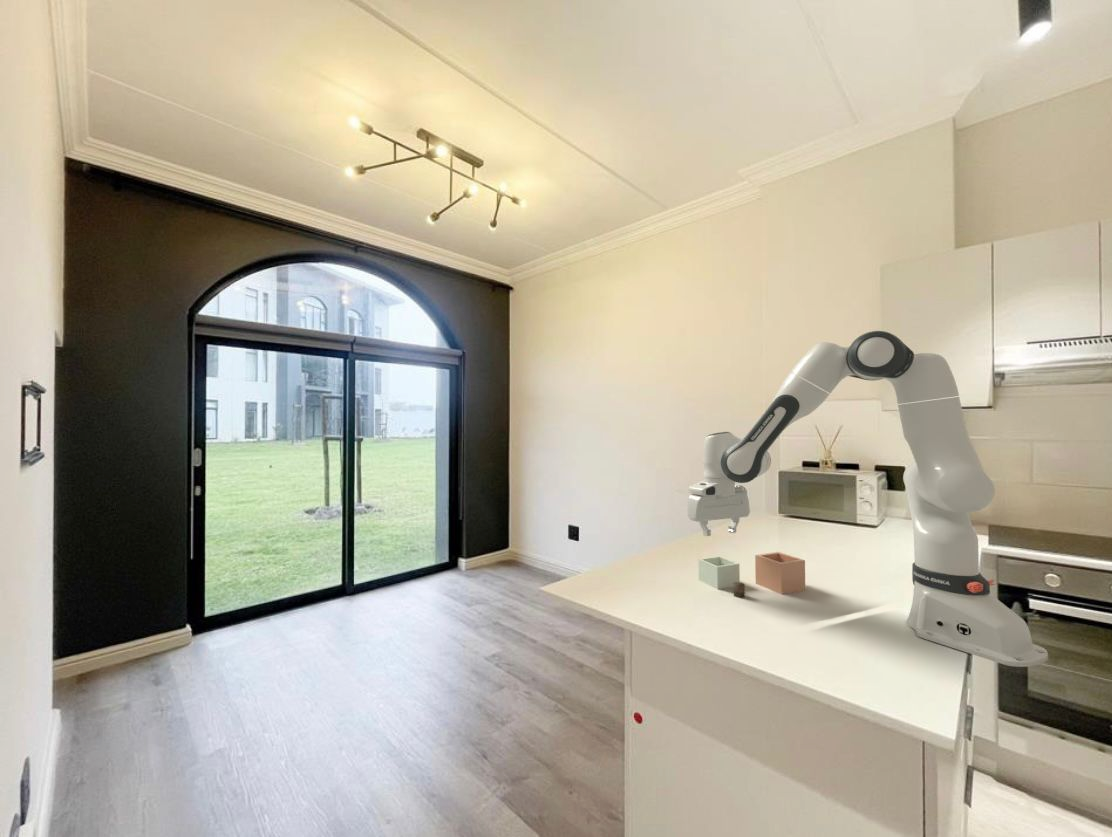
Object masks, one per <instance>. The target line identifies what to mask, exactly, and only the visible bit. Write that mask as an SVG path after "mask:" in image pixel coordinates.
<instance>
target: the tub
mask: <svg viewBox="0 0 1112 837" xmlns="http://www.w3.org/2000/svg"><path fill="white" fill-rule="evenodd" d="M740 574H741V572H740V563H739V562H736V561H733V560H731V559H728V558H726V557H723V556H720V555H718V556H712V557H705V558H699V559H698V581H700V582H702V583H704V584H706V585H708V586H710V587H711V588H713V589H716V590H722V589H727V588H732V587H733V588H734V586H733V583H735V582H740V583H741V581H740V580H741V578H740V576H741V575H740Z"/></svg>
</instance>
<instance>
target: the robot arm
mask: <svg viewBox="0 0 1112 837" xmlns="http://www.w3.org/2000/svg"><path fill="white" fill-rule="evenodd" d="M811 347H812V348H810V349H809V350H808V351H807V352H806V353H805V354H804V355H803V356H802V357H801V358H800V359H799V361H797V362H796V364H795V365H794V366H793V368H792V369H791V370H790V372H789V373H788V374H787V376H786V377H785V379H784V380H783V382H782V383H781V384H780V387H779V388H778V390H777V392H776V394H775V396H774V397H773V399H772V401H771V402H770V404H769V406H768V407H767V409H766V410H765V412H764V413H763V414H762V415H761V416H760V418H759V419H758V420H756V423H755V424H754V425H753V427H752V428H751V429H750V430H749V431H748V433H747V434H746V435H745V436H744V437H743V438H742V439H741V438H739V437H738V436H736V435H735V434H733V433H732V432H730V431H723V432H715V433H711V434H709V435H706V436H705V438H704V442H703V446H702V447H703V450H702V464H703V467H704V471H703V474H702V478H703V479H702V480H700V481H699V482H696V483H694V484H692V485H690V486H688V487H689V488H688V492H689V494H690V495H689V497H688V499H687V500H688V501H687V517H688V519H689V520H690V521H692V522H697V523H698V524H699V526H700V528H701V529H702V535H703V536H704V537H710V536H711V535H712V530H711V529H709V528H708V524H709V521H716V520H717V521H718V520H728V519H730V521H731V523H730V525H729V526H727V528H728V533H729V534H736V533H737V527H738V525H739V523H740V518H747V517H749V515H750V511H751V510H750V502H749V501H750V500H749V497H748V490H747V488H746V487H744V486H743V485H736V483H737V484H738V483H739V484H746V483H750V482H751V481H754V480H755V479H756V478H758V477H760V476H763V475H764V474H765V473H766V472H767V471H768V470H769V469H770V467H771V463H772V459H771V458H772V457H771V456H770V453H769V449H770V448H771V447H772V446H773V444H774V443H775V442H776V440H777V439H778V438H779V436H781V434H782V433H783V432H784V431H785V430H786V428H788V427H789V426H790V425H792V424H794V422H797V421H799V420H800V419H803V418H804V417H807V416H808V415H810V414H812V413H813V412H814V411H816V410H817V409H818V408H819V407H820V406H821V405H822V404H823V403H824V402H825V401H826V399H828V397H829V396H830V394H831V393H832V392H833V391H834V390H835V388H836V387H837V386H838V385H839V383H841V382H842V381H843V380H844V379H845V378H847V377H851V378H854V379H860V380H865V381H880V380H887V381H889V383H891V385H892V387H893V388H894V391H895V395H896V402H897V407H898V412H899V417H900V422H901V428H902V434H903V437H904V439H905V441H906V442H907V444H908V446H909V449H910V452H911V454H912V455H913V459H914V462H912V463H911V464H909V465H908V466H907V467H906V468H905V470H904V472H903V476H902V480H903V484H904V486H905V489H906V496H907V503H908V507H909V513H910V517H911V518H910V519H911V523H912V529H913V547H914V549H913V550H914V551H913V552H914V557H913V558H914V562H912V566H911V567H912V568H911V571H912V572H911V575H912V584H913V587H914V588H913V594H912V595H913V596H912V603H911V605H910V606H911V607H910V611H909V614H908V617H907V619H906V623H907V625H908V626H909V627H911V629H913V630H914V631H915V634H916V636H917V637H918V638H921V639H925V640H927V641H930V642H933V643H937V644H940V645H942V646H945V647H949V648H952V649H955V650H958V651H962V652H964V653H968V654H970V655H974V656H977V657H979V658H983V659H986V660H989V661H992V662H995V663H998V664H1001V665H1005V666H1009V667H1017V668H1020V667H1021V668H1024V667H1025V668H1027V667H1034V666H1039V665H1042V664H1043V663H1046V662H1047V661H1048V660H1049V654H1048V651H1047V649H1045V647H1042V646H1040V645H1038V644H1035V643H1033V640H1032V636H1031V632H1030V628H1029V626H1028V624H1027V623H1026V621H1025V620H1024V618H1022V617H1021V616H1020V615H1018V614H1016V612H1014V611H1013V610H1012V609H1010V608H1009V607H1008V606H1007V605H1005V604H1004V603H1003V602H1001V601H1000V600H999V599H998V598H997V597H995V596H994V594H991V587H992V586H994V585H995V584H994V582H995V580H994V579H990V580H987V579H986V578H985V577H984V576H983V575H982V573H981V572H980V569H979V568H980V566H979V565H980V564H979V563H980V561H979V559H980V558H979V557H980V556H979V538H978V534H977V532H976V531H975V529H974V527H973V524H972V519H971V517H970V513H973V512H978V511H981V510H983V509H985V508H986V507H988V506H989V505H990V504H991V503H992V501H993V499H994V497H995V492H996V491H995V490H996V489H995V485H994V482H993V481H992V479H991V478H990V476H989V475H988V474H987V473H986V472H985V469H984V468H983V466H982V464H981V461H980V459H979V456H978V453H977V451H976V449H975V448H974V446H973V443H972V440H971V439H970V436H969V434H968V430H967V427H966V422H965V418H964V413H963V409H962V408H963V407H962V404H961V400H960V395H959V390H958V386H957V383H956V380H955V378H954V374H953V371H952V369H951V367H950V365H949V363H948V362H947V360H946V359H945V358H944V357H943V356H942V355H940V354H938V353H933V352H923V353H914V351H913V350H912V349H910V347H908V345H906V344H905V343H904V342H903V341H902V340H901V339H900V338H899V337H897V336H896V335H894V334H893V333H891V332H888V331H884V330H872V331H868V332H866V333H863V334H861V335H860V336H858V337H857V338H856V339H854V341H853V342H852V343H851V345H850V346H846V347H845V346H844V347H843V346H840V345H839V344H835V343H832V342H819V343H816V344H815V345H814V346H811Z"/></svg>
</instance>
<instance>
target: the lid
mask: <svg viewBox="0 0 1112 837" xmlns="http://www.w3.org/2000/svg"><path fill="white" fill-rule="evenodd" d="M733 586H734V587H733V596H734V597H735V598H738V599H743V598H745V597H746V595H745V593H746V592H745V588H746V587H745V586H746V585H745V583H743V582H741V581H740V582H735V583H733Z"/></svg>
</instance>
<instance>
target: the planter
mask: <svg viewBox="0 0 1112 837" xmlns="http://www.w3.org/2000/svg"><path fill="white" fill-rule="evenodd" d="M754 557H755V562H754V563H755V565H754V566H755V570H754V571H755V572H754V573H755V585H759V586H761V587H763V588H766V589H768V590H770V591H773V592H775V593H778V594H780V595H785V594H790V593H797V592H801V591H805V590H806V560H805V559H803V558H800V557H795V556H792V555H790V554H786V553H783V552H780V551H775V552H768V553H766V552H765V553H760V554H755V555H754Z"/></svg>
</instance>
